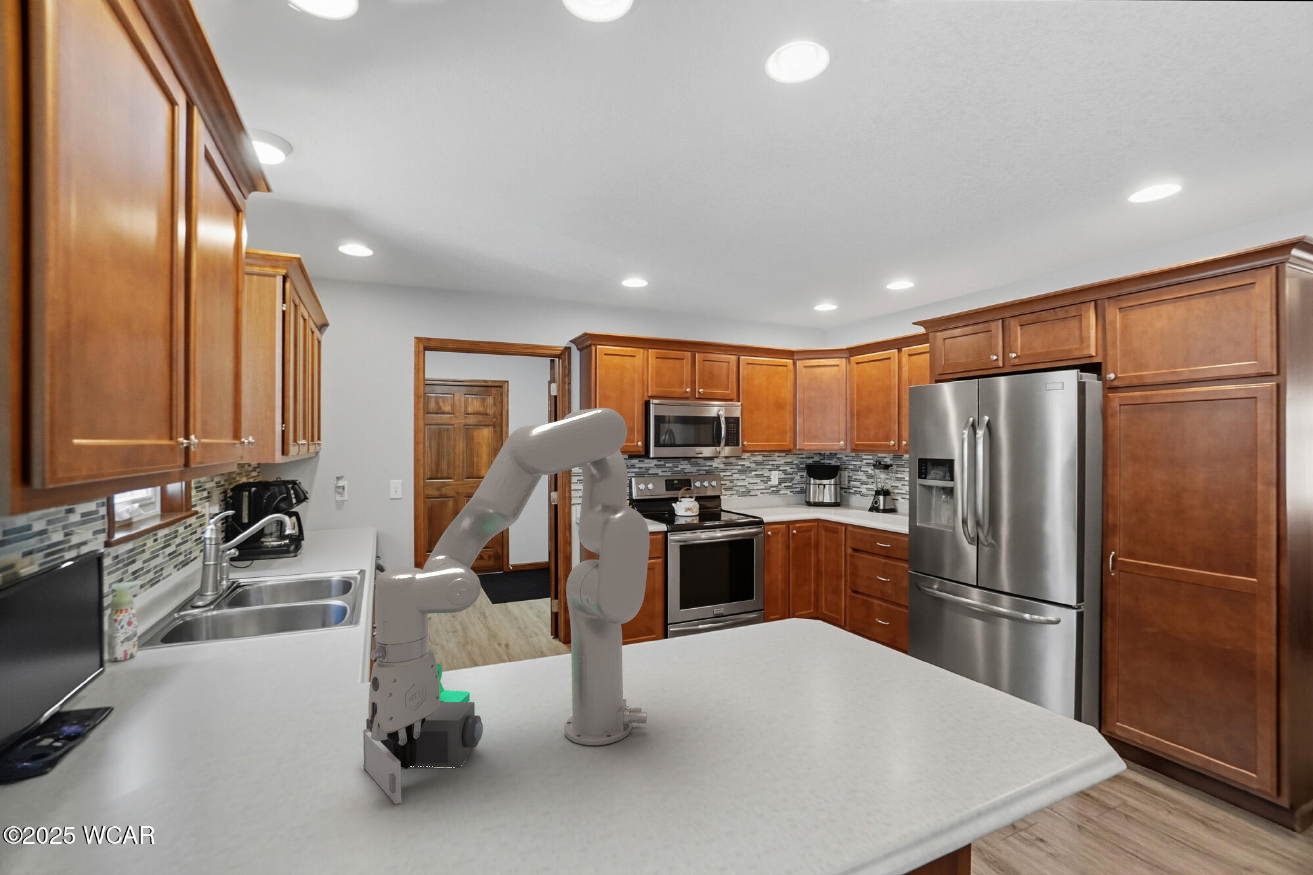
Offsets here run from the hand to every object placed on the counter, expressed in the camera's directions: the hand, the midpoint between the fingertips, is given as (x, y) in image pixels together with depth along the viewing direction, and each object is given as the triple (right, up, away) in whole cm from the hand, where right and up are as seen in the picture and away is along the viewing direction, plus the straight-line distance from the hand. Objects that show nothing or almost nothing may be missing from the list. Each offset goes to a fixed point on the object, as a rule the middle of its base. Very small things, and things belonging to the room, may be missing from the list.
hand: (405, 764), depth 95 cm
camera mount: (-4, -4, +25) cm, 26 cm away
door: (-4, -4, +1) cm, 6 cm away
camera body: (0, -4, +9) cm, 10 cm away
